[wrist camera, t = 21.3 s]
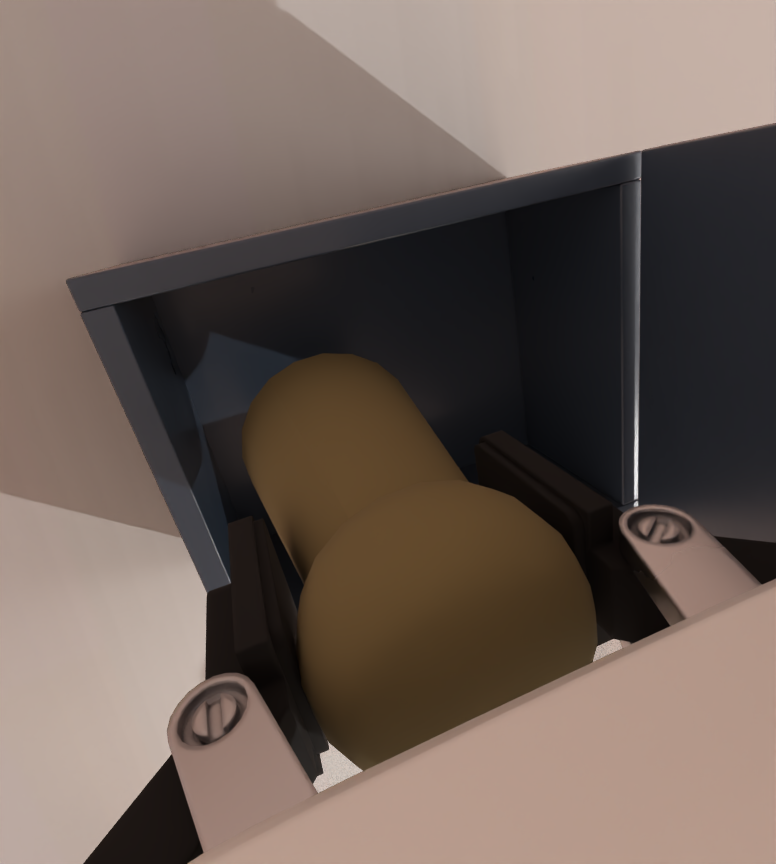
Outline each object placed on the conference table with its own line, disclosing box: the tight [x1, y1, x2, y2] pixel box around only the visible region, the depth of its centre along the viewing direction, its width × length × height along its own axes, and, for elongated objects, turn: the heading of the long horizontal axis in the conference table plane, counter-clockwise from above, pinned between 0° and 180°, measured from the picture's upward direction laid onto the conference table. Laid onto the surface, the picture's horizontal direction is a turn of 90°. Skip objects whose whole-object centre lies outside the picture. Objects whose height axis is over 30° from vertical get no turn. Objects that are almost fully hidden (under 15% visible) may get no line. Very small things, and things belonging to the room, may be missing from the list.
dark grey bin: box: [66, 151, 641, 612], centre depth 20 cm, size 17×14×8 cm
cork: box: [242, 353, 598, 771], centre depth 12 cm, size 6×6×11 cm
